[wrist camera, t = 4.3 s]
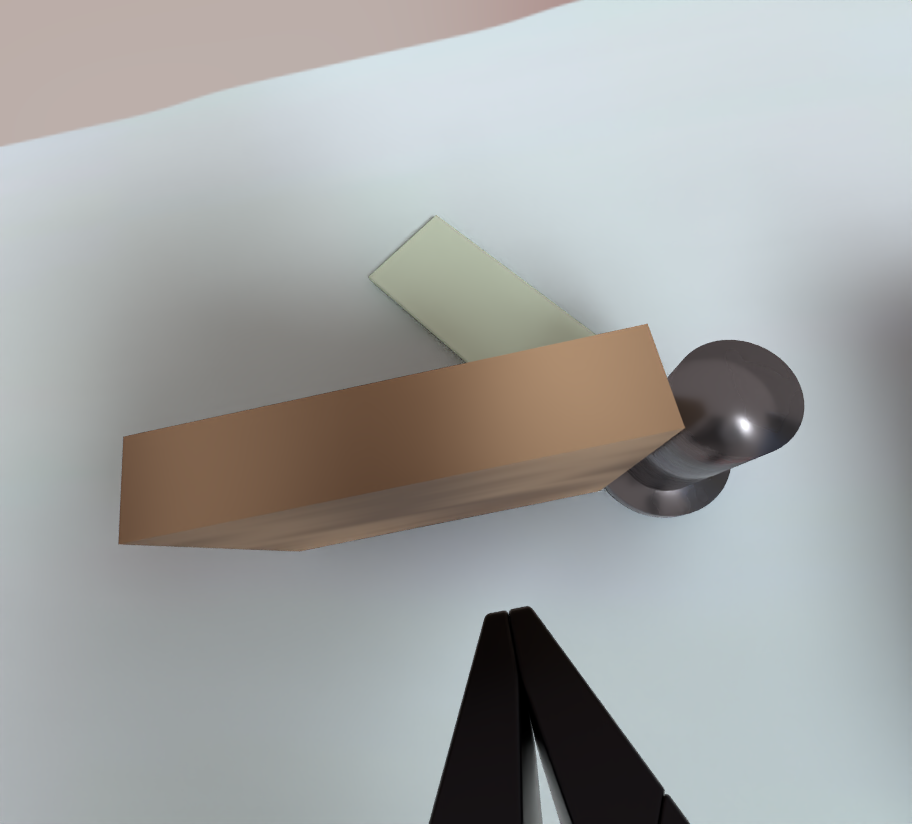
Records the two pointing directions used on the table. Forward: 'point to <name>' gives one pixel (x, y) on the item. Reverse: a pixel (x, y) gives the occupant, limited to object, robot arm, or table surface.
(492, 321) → the stripe
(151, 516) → the arm
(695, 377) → the pivot post
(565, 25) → the table surface
